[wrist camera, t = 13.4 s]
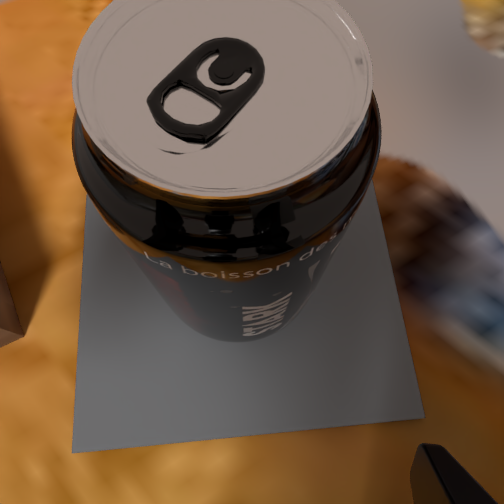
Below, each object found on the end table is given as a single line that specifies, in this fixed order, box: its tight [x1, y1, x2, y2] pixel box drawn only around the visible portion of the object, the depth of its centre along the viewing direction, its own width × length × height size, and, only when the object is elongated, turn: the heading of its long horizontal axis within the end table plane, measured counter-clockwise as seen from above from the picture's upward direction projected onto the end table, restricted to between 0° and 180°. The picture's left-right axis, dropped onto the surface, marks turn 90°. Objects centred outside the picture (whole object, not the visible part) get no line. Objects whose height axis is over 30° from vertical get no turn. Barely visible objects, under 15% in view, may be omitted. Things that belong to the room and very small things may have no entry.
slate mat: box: [72, 180, 425, 453], centre depth 19 cm, size 14×14×1 cm
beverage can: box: [72, 0, 381, 343], centre depth 13 cm, size 7×7×12 cm
